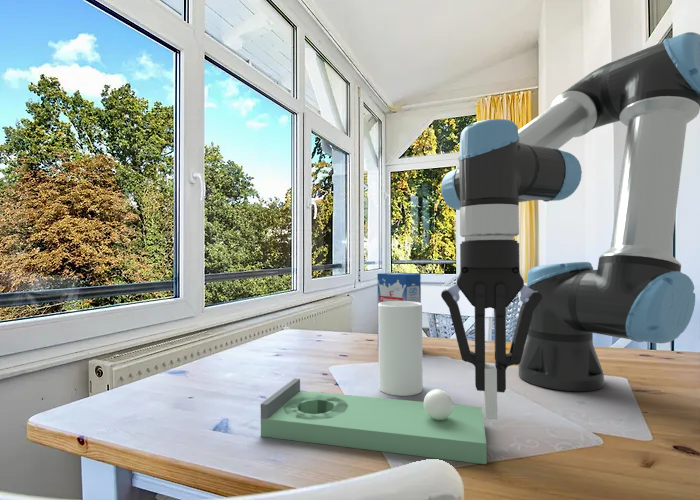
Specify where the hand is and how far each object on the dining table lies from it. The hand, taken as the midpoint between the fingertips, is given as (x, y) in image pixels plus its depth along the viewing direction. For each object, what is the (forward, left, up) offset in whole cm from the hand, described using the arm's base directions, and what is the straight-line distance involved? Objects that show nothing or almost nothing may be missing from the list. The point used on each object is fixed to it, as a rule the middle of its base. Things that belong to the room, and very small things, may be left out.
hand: (490, 414), depth 54 cm
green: (+16, 0, -4) cm, 16 cm away
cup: (+15, -19, -4) cm, 24 cm away
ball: (+7, 0, +1) cm, 7 cm away
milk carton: (+20, -51, -4) cm, 55 cm away
